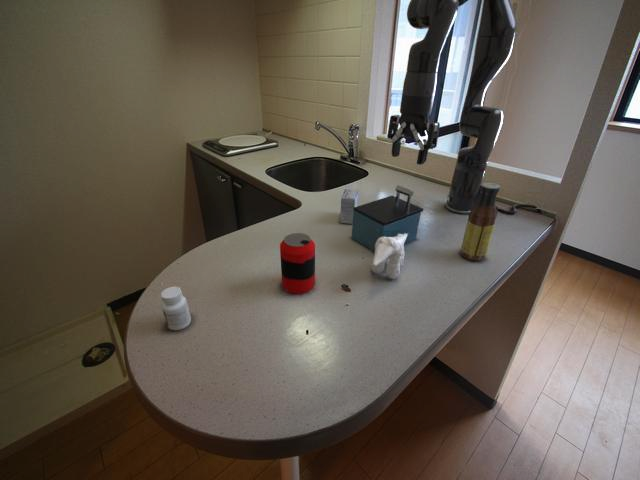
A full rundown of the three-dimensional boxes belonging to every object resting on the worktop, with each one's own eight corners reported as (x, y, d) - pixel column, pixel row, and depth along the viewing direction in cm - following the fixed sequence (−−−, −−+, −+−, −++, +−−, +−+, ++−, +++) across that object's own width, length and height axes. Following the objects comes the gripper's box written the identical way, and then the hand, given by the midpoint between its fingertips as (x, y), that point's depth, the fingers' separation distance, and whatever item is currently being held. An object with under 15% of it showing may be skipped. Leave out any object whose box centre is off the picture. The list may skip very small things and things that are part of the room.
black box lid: (391, 197, 96) (394, 180, 93) (422, 211, 88) (426, 193, 85) (353, 210, 88) (354, 191, 85) (384, 226, 80) (386, 206, 77)
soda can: (302, 299, 69) (301, 252, 63) (275, 287, 72) (272, 242, 66) (321, 281, 74) (321, 236, 68) (294, 270, 78) (293, 227, 72)
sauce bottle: (483, 251, 87) (506, 182, 76) (485, 264, 81) (510, 191, 71) (458, 247, 88) (477, 179, 78) (458, 259, 83) (479, 188, 73)
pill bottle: (171, 315, 64) (162, 285, 60) (194, 314, 64) (186, 284, 60) (164, 331, 60) (154, 300, 56) (188, 330, 61) (179, 299, 57)
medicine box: (353, 224, 99) (355, 199, 95) (339, 223, 100) (341, 197, 96) (356, 214, 106) (358, 189, 102) (343, 212, 107) (344, 188, 102)
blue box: (386, 224, 100) (389, 198, 95) (415, 239, 92) (421, 212, 87) (351, 237, 92) (353, 210, 88) (380, 255, 84) (384, 226, 80)
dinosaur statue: (356, 289, 72) (360, 247, 66) (394, 243, 90) (399, 207, 84) (384, 299, 69) (391, 257, 63) (417, 250, 87) (425, 214, 81)
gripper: (453, 95, 73) (438, 164, 81) (406, 90, 83) (396, 152, 91) (433, 97, 69) (419, 169, 77) (385, 91, 79) (378, 155, 87)
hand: (407, 160), depth 84 cm, fingers open, 8 cm apart
